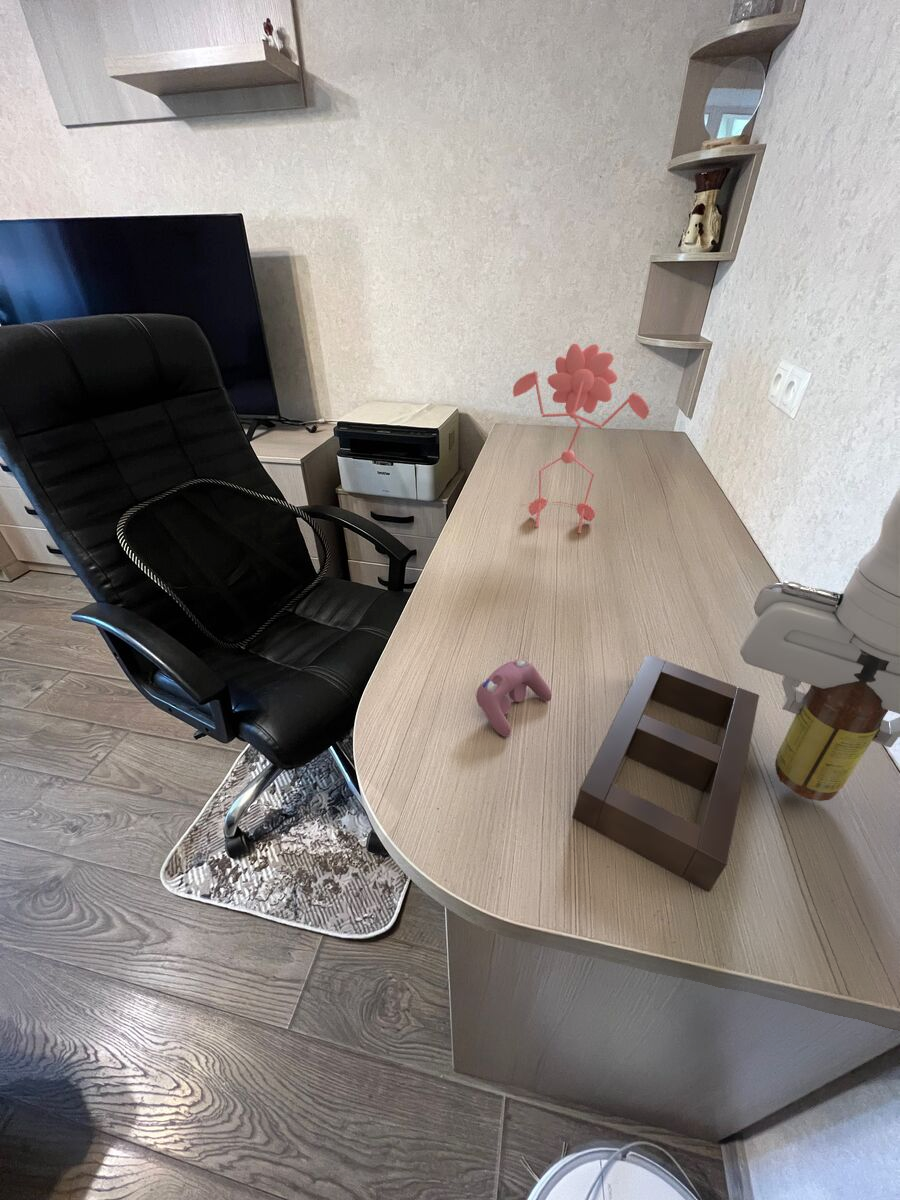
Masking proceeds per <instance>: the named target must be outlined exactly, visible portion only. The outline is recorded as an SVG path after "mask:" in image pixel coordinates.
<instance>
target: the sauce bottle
mask: <svg viewBox="0 0 900 1200" xmlns="http://www.w3.org/2000/svg"><path fill="white" fill-rule="evenodd" d="M860 651H861V652H862V653H861V655H860V657H859V658H858V660H857V663H859V664H861V665H863V669H862V670H861V673H856V674H854V676H855V677H856V678H858V679H859V681H855V682H852V683H846V684H841V685H837V686H835V687H829V688H825V689H822V688H819V687H816V686H813V685H810V687H809V689H808V690H807V691H806V693H805V697H804V703H805V704H804V706H803V708H802V709H800V713H799V714H798V715H797V714H795V716H794V717H793V720H792V722H791V724H790V725H789V728H788V730H787V733H786V735H785V736H784V739H783V740H782V742H781V745H780V747H779V749H778V751H777V754H776V758H775V761H774V767H775V768H774V769H775V773H776V775H777V777H778V779H779V781H780V782H781V783H782V784H783V785H785V787H787V788H788V789H790V790H791V791H792V792H794V793H795V794H796V795H799V796H800V797H803V798H806V799H808V800H812V801H819V802H823V801H829V800H832V799H833V798H834V797H835V796H837V795H838V794H839V792H840V791H841V790H842V789H843V788H844V787H845V786H846V784H847V782H848V780H849V779H850V777H851V776H852V774H853V773H854V771H855V769H856V767H857V766H858V764H859V763H860V761H861V759H862V758H863V756H864V755H865V753H866V752H867V750H868V748H869V746H870V745H871V744H872V742H873V741H872V740H873V738H874V736H875V735H876V733H877V731H878V730H879V728H880V726H881V722H882V720H884V718H885V716H886V715H887V714H888V712H889V710H886V709H883V708H882V700H881V698H880V697H879V696H878V695H877V694H876V693H875V692H874V690H873V689H872V688H871V687H869V686H868V685H867V682H874V681H876V679H875V678H874V675H875V674H876V672H877V671H878V670H882V671H885V670H886V667H887V665H888V664H889V661H886V660H883V659H880V658H877V657H875V656H873V655H870V654H868V653H866V652H865V651H863V650H861V649H860Z"/></svg>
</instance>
